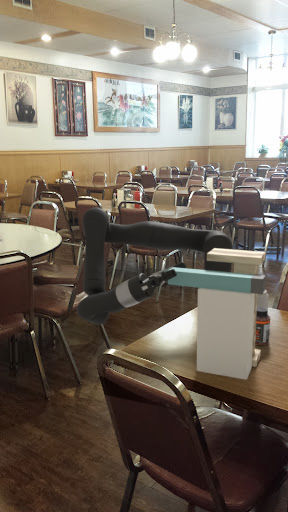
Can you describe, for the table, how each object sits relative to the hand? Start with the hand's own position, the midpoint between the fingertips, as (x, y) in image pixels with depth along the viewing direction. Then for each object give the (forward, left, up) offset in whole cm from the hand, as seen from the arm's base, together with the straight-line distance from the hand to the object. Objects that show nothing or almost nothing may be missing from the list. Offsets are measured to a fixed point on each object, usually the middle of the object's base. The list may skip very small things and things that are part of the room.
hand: (180, 268), depth 131 cm
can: (-41, +15, -29) cm, 52 cm away
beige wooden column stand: (-9, +14, -28) cm, 33 cm away
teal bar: (0, +10, -4) cm, 11 cm away
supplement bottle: (-23, +19, -29) cm, 41 cm away
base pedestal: (0, +13, -28) cm, 31 cm away
